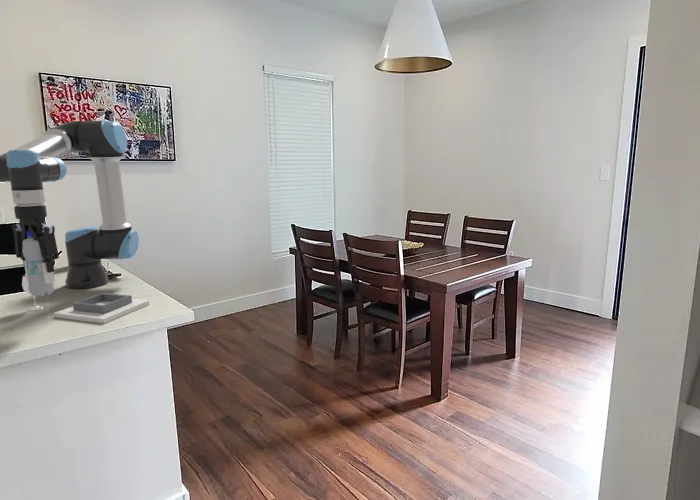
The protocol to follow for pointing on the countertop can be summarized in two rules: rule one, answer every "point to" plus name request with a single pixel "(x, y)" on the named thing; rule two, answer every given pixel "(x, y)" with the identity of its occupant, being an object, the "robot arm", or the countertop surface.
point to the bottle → (35, 267)
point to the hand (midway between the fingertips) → (41, 281)
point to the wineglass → (26, 288)
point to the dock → (102, 308)
